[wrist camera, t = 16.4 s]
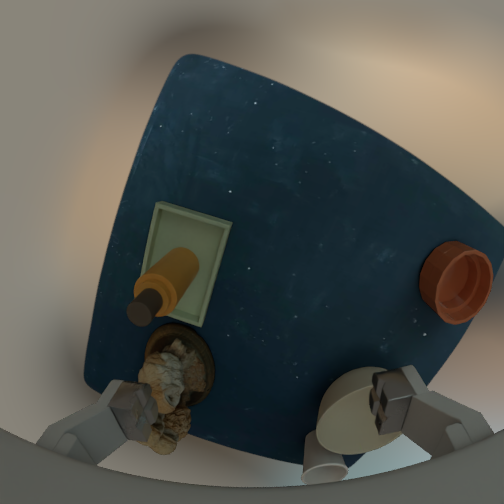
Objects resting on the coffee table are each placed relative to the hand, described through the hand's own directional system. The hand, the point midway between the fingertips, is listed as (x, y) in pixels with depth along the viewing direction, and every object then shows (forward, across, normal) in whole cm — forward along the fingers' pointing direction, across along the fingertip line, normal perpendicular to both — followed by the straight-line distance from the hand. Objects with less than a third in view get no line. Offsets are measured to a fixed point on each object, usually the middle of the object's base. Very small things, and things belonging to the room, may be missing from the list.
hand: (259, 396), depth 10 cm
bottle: (+31, +12, +4) cm, 33 cm away
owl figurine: (+31, +16, +22) cm, 41 cm away
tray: (+31, +12, +4) cm, 34 cm away
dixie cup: (+31, -7, +42) cm, 53 cm away
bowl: (+31, -13, +28) cm, 44 cm away
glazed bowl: (+31, -28, +10) cm, 43 cm away
